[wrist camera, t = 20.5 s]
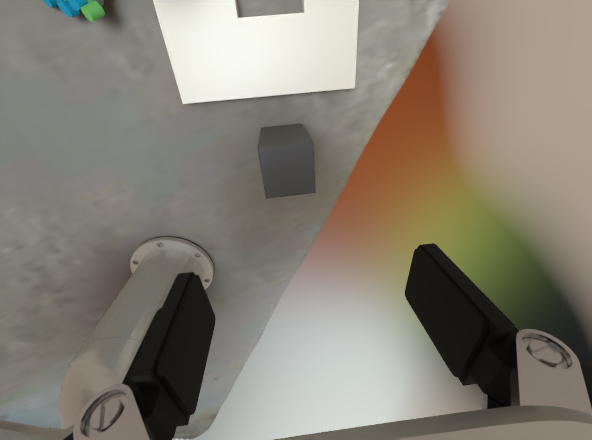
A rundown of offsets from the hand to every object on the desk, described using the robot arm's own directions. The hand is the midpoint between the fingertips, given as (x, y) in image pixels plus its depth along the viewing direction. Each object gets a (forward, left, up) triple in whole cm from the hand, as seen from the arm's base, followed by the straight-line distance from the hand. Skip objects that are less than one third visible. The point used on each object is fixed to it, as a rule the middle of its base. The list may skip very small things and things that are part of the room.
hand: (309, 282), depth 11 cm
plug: (0, 0, -24) cm, 24 cm away
